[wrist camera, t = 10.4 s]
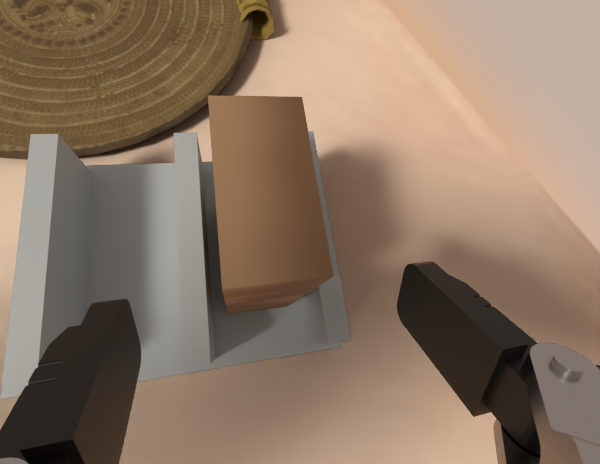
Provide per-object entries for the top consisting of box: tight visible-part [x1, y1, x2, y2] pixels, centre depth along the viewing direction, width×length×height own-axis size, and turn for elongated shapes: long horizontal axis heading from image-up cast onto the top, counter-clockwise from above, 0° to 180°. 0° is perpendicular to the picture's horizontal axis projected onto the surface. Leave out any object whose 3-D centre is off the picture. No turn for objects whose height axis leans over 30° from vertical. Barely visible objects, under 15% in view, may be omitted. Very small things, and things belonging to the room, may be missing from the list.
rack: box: [0, 132, 351, 399], centre depth 18 cm, size 16×13×6 cm
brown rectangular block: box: [208, 95, 334, 314], centre depth 16 cm, size 4×7×10 cm, turn 9°
